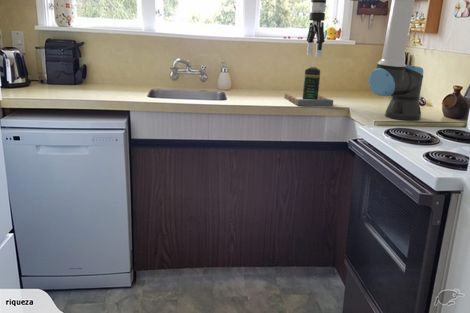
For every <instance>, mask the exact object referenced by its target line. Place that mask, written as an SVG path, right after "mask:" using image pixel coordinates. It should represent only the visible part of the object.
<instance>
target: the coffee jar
mask: <svg viewBox="0 0 470 313" xmlns="http://www.w3.org/2000/svg"><path fill="white" fill-rule="evenodd" d="M303 76H304V78H303V90H302V99H318V95H319V91H320V90H319V89H320V81H321V69H319V68H318V67H316V66H310V67H308V68H306V69H305V70H304V75H303Z"/></svg>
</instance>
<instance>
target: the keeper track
mask: <svg viewBox="0 0 470 313" xmlns="http://www.w3.org/2000/svg"><path fill="white" fill-rule="evenodd" d="M283 97H284V99H286V100H287V101H289V102H290V103H292V104H294V105H295V106H297V105H296V103H297V100H296V99H297V98H296V97H294V96H292V95H291V94H289V93H287V92H285V93H284V94H283ZM318 99H328V98H326V97H324V96H322V95H320V94H318Z"/></svg>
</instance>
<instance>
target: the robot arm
mask: <svg viewBox="0 0 470 313" xmlns="http://www.w3.org/2000/svg"><path fill="white" fill-rule="evenodd" d="M351 1H353V2H359V1H360V2H361V0H351ZM415 1H416V0H391V3H390V9H389V15H388V21H387V27H386V33H385V38H384V42H383V43H384V44H383V49H382V50H383V51H382V55H381V59H380V60H379V61H377V63H376V68H375V69H373V71H372V72H371V73H370V74H369V77H368V84H369V88H370V90H371V91H372V93H373V94H375V95H376V96H379V97H385V98H386V97H390V96H391V100H390V102H389V104H388V105H387V108H386V110H385V114H384V116H385V117H386V118H389V117H390V119H395V120H401V121H418V120H421V119H422V112H421V105H420V96H421V92H422V91H421V90H422V86H423V85H422V84H423V79H424V69H423V67H420V66H415V65H409V64H408V65H407V64H406V63H405V62H404V58H405V53H406V47H407V41H408V38H409V32H410V26H411V20H412V16H413V11H414V6H415ZM309 4H310V5H309V21H311V22H309V28H308V33H307V36H306V42H307V50H306V52H307V53H306V56H311V57H312V56H313V54H314V52H313V51H314V43H315V42H314V40H315V37H316V45H315V48H316V49H315V58H322V55H323V44H324V43H325V40H326V39H325V30H324V24H325V23H324V22H325V17H326V13H325V12H326V8H327V0H310V3H309Z"/></svg>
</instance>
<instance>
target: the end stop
mask: <svg viewBox="0 0 470 313" xmlns="http://www.w3.org/2000/svg"><path fill="white" fill-rule="evenodd" d="M296 100H297V103H296V105H295V106H297V107H334V99H329V98H327V99H303V98H296Z"/></svg>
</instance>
